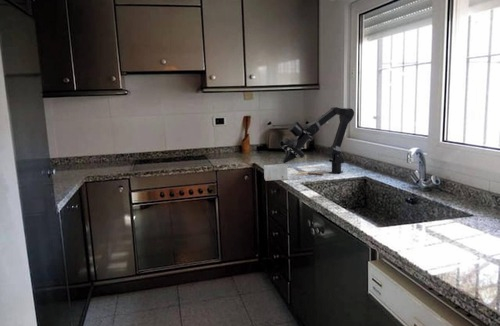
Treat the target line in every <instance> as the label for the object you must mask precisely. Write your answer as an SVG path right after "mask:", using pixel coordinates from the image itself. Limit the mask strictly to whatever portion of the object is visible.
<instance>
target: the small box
mask: <svg viewBox="0 0 500 326" xmlns="http://www.w3.org/2000/svg"><path fill="white" fill-rule="evenodd" d="M288 171H289V166H288V165H287V164H286V163H279V164H277V163H275V164H266V165H265V164H264V165H263V173H264V174H263V177H264V180H265V181H269V182H270V181H280V180H281V181H284V180H285V181H286V180H288V179H289V172H288Z"/></svg>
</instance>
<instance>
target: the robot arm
mask: <svg viewBox="0 0 500 326" xmlns="http://www.w3.org/2000/svg"><path fill="white" fill-rule="evenodd" d="M335 116H338V117H339V119H338V120H339V123H338V127H337V129H336V134H335V136H334V140H333V143H332V145H331V146H328V147H327V150H326V158H327V159H328V161H329V162H330V163H331V171H329V173H330V174H336V175H337V174H338V175H339V174H342V173H343V172H344V170H342V164H344V163H345V159H344V157H343V156H342V148H341V146H342V143H343V141H344V137H345V134H346V131H347V128H348V125H349V124H350V123H351V121H352V120H353V118H354V116H355V111H354V109H353V108H351V107H350V108H349V107H348V108H347V107H344V108H343V107H338V106H337V107H336V106H333V107H331V108H329V110H327V111H326V112H324V113H323V114H322V115H321V116H320V117H318V118H317V119H316V120H314V121H313V120H312V121H311V122H309V123H307V124H306V125H305V126H302V125H301V124H300V123H299V121H295V122H294V123H292V124H290V125H289V127H288V129H287V130H288V131H289V132H290V133H291V134H292V135H293V136H294V137H295V138H296V137H297V138H296V139H295V138H292V137H291V138H286V137H284V139H283V141H282V143H283V145H282V147H281V148H282V150H283V151H285V155H284V158H283V160H282V164H286V163H289V162H290V161H292V160H295V159H297V158H298V156H299V159H303V158H304V157H305V153H304V152H303V150H302V149H304V148H305V145H306V144H307V143H308V142H309V141H310V142H313V139H314V138H313V135H315V134H317V133H318V132H319V131H320V130H321V127H323V125H325V124H326V123H327V122H329V121H330V120H331V119H333V118H334V117H335Z"/></svg>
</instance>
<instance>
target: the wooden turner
mask: <svg viewBox="0 0 500 326" xmlns="http://www.w3.org/2000/svg"><path fill="white" fill-rule="evenodd" d="M295 175H299V176H308V175H310V176H324V173H323V172H310V171H309V172H308V171H299V172H296V173H295Z"/></svg>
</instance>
